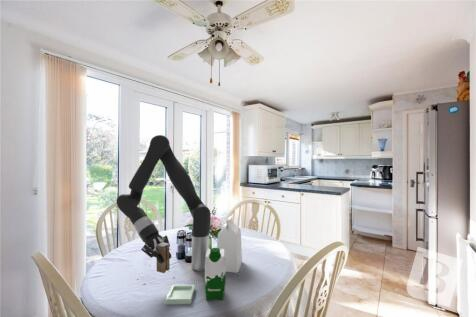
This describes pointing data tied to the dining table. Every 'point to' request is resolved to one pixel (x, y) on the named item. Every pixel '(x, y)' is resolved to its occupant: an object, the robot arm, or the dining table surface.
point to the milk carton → (215, 274)
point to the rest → (180, 294)
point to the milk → (231, 245)
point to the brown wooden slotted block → (164, 251)
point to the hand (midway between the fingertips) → (166, 260)
